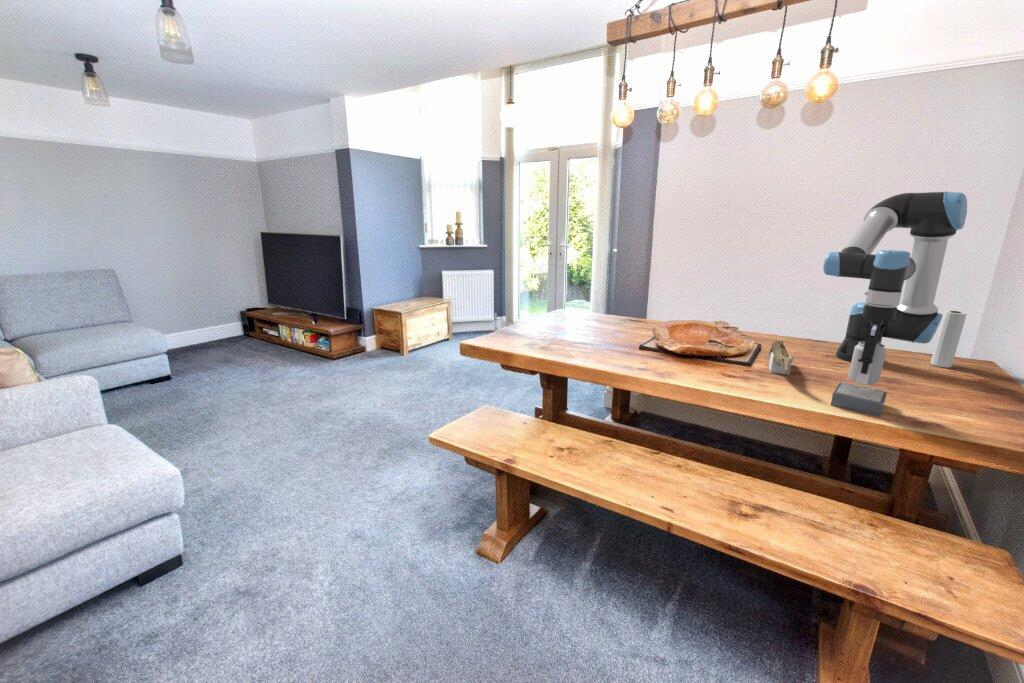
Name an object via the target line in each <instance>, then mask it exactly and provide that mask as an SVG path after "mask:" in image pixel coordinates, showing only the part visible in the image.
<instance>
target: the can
mask: <svg viewBox="0 0 1024 683" xmlns="http://www.w3.org/2000/svg"><path fill="white" fill-rule="evenodd" d="M858 343H859V344H858V345H856V346H855V348H854V352H853V357H852V361H851V362H850V365H849V370H848V375H847V377H848V378H849V379H850V381H852V382H853V383H856V379H857V375H858V370H859V366H860V362H859V361H858V359H861V358H862V353H863V349H864V345H865V341H861V342H858ZM885 347H886V346H885V345H884V344H883V343H881V344H879V343H877V344H876V348H875V352H874V356H873V362H872V367H871V371H870V375H869V379H868V383H867V385H866V384H861V383H858V385H862V386H874V385H876V384H878V383H879V382H880V378H881V375H882V371H883V366H884V363H885V359H886V355H887V350H886V348H885ZM864 358H866V357H864Z"/></svg>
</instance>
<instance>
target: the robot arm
mask: <svg viewBox="0 0 1024 683" xmlns="http://www.w3.org/2000/svg"><path fill="white" fill-rule="evenodd" d="M967 212H968V200H967V196H966V194H965V193H963V192H958V191H957V192H956V191H953V192H952V191H936V192H935V191H934V192H931V191H930V192H904V193H899V194H895V195H892V196H890V197H887V198H885V199H883V200H881V201H880V202H878V203H876V204H875V205H874V206H872V207H871V208H869V210H868V211H867V212H866V214H865V215H864V217H863V221H862V224H861V225H860V226H859V228H858V229H857V230H856V232H855V233H854V234H853V236H852V237H851V238H850V239H849V241H848V242H847V244H846V245H845V246H844V247H843V249H842V250H841V251H830V252H828V253H827V254H826V256H825V259H824V261H823V267H822V268H823V269H822V270H823V273H824V274H825V275H827V276H833V277H837V278H838V277H840V278H852V279H863V280H864V279H865V280H869V284H868V290H867V291H865V292H864V296H866V297H865V301H861V302H857V303H854V304H853V305H852V306H851V310H850V313H849V316H848V321H847V327H846V332H845V337H844V339H843V340H842V342H841V343H840V345H839V347H838V348H837V350H836V352H835V357H836V358H837V359H841V360H843V361H847V362H850V363H851V361H852V357H853V352H854V348H855V346H856V345H858V344H859V343H858V342H861V341H865V345H864V349H863V353H862V358H861V359H858V361H859V362H860V366H859V370H858V375H857V379H856V383H857V384H859V383H861V384H860V385H863V384H866V385H865V386H868V385H867V383H868V379H869V375H870V371H871V367H872V362H873V356H874V352H875V348H876V344H877V343H879V344H882V340H883V338H885V339H886V338H887V339H891V340H897V341H898V340H899V341H904V342H909V343H913V344H914V343H917V344H923V345H925V344H928V343H930V342H931V341H932V339H933V338H934V337H935V334H936V332H937V330H938V328H939V326H940V325H941V323H942V320H943V316H944V314H942V313H940V312H938V311H939V307H938V306H937V305H936V304H935V299H936V296H937V290H938V286H939V281H940V277H941V271H942V268H943V263H944V259H945V255H946V250H947V247H948V243H949V239H950V238H952V237H954V236H955V235H956V234H957V231H960V230H962V229H963V228H964V226H965V224H966V218H967V215H968V214H967ZM895 228H896V229H898V228H899V229H902V228H903V229H910V232H909V235H910V236H911V237H912V238H913V239H914V240H913V244H912V251H911V252H909V251H906V250H896V249H891V250H890V249H889V250H887V249H881V250H879V251H877V252H876V254H874V253H873V252H874V250H875V249H876V248H877V247H878V245H879V244H880V243H881V241H882V239H883V238H884V237H885V236H886V234H887V233H888V232H890V231H892V230H893V229H895ZM872 253H873V254H872ZM904 283H905V284H904ZM904 285H905V286H904ZM903 287H904V291H903V297H902V290H903ZM901 298H902V301H900V300H901ZM864 357H866V358H864Z"/></svg>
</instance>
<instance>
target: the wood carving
mask: <svg viewBox="0 0 1024 683" xmlns="http://www.w3.org/2000/svg"><path fill="white" fill-rule="evenodd" d="M764 359H765V360H766V359H769V366H768V369H769V372H770V373H772V374H773V373H775V374H782V375H788V376H789V375H790V374H791V367H792V363H793V361H794V356H791V354H789V353H788V350H787V349H786V346H785V345H784V341H783V340H781V341H780V340H774V341H773V342H772V345H771V348H770V349H769V351H768V353H767V354H766V355H765V357H764Z"/></svg>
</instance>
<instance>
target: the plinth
mask: <svg viewBox="0 0 1024 683" xmlns="http://www.w3.org/2000/svg"><path fill="white" fill-rule="evenodd" d="M887 394H888V392H887V391H884V390H882V389H877V388H872V387H868V386H865V385H860V384H854V383H849V382H845V381H844V382H843V381H842V382H839V383H838V384H837V386H836V388H835V389H834V391H833V392H832V397H831V401H830V406H833V407H837V408H841V409H846V410H849V411H854V412H857V413H863V414H866V415H871V416H875V417H882V416H881V415H882V412H883V409H884V407H885V402H886V398H887Z"/></svg>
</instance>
